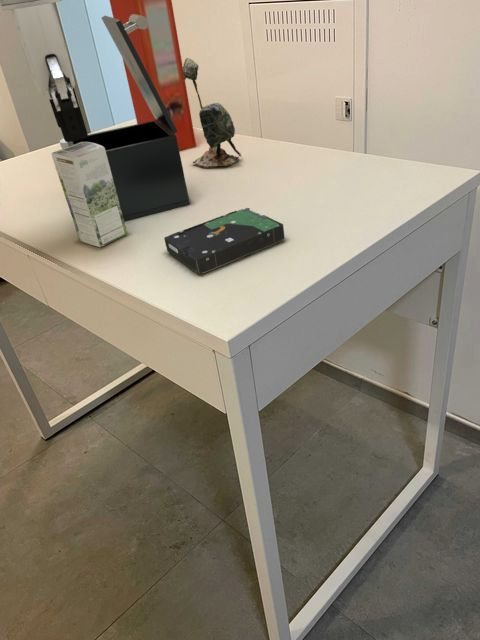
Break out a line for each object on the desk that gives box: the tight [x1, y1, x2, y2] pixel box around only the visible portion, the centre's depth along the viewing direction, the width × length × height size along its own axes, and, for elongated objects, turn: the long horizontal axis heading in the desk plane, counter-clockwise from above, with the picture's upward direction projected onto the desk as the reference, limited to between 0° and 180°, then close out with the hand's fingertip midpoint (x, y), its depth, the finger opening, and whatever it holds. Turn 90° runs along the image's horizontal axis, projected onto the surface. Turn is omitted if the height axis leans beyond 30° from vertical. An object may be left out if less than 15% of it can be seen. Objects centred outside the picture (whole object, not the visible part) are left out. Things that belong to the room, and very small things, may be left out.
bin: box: [67, 120, 191, 222], centre depth 97 cm, size 17×14×12 cm
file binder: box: [108, 0, 197, 152], centre depth 121 cm, size 8×17×32 cm, turn 29°
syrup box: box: [51, 142, 128, 248], centre depth 85 cm, size 6×6×14 cm
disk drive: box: [163, 207, 285, 275], centre depth 81 cm, size 10×3×15 cm
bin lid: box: [101, 14, 178, 134], centre depth 90 cm, size 17×14×5 cm
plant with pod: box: [182, 57, 242, 168], centre depth 108 cm, size 8×11×20 cm
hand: (72, 132), depth 79 cm, fingers open, 9 cm apart
